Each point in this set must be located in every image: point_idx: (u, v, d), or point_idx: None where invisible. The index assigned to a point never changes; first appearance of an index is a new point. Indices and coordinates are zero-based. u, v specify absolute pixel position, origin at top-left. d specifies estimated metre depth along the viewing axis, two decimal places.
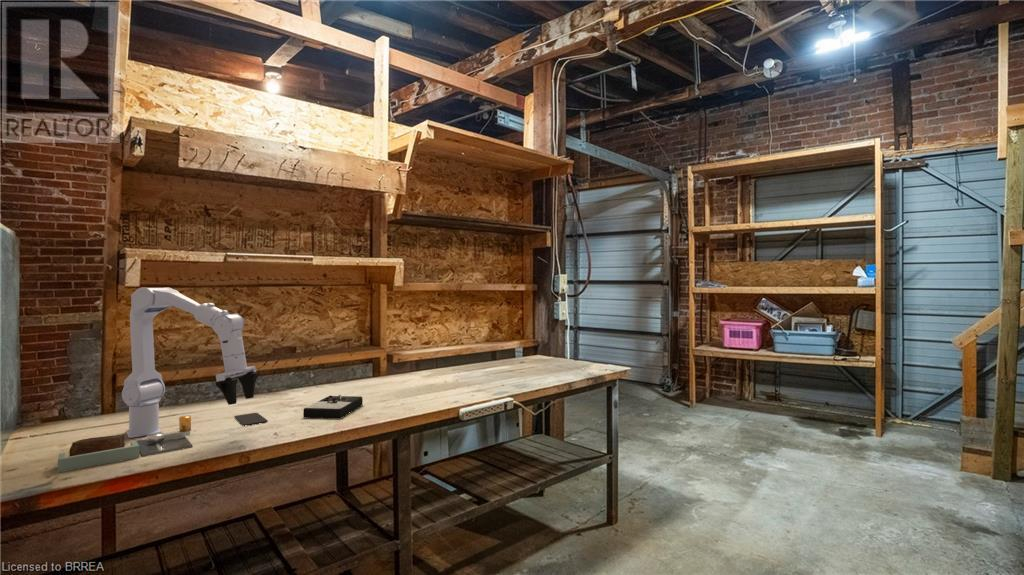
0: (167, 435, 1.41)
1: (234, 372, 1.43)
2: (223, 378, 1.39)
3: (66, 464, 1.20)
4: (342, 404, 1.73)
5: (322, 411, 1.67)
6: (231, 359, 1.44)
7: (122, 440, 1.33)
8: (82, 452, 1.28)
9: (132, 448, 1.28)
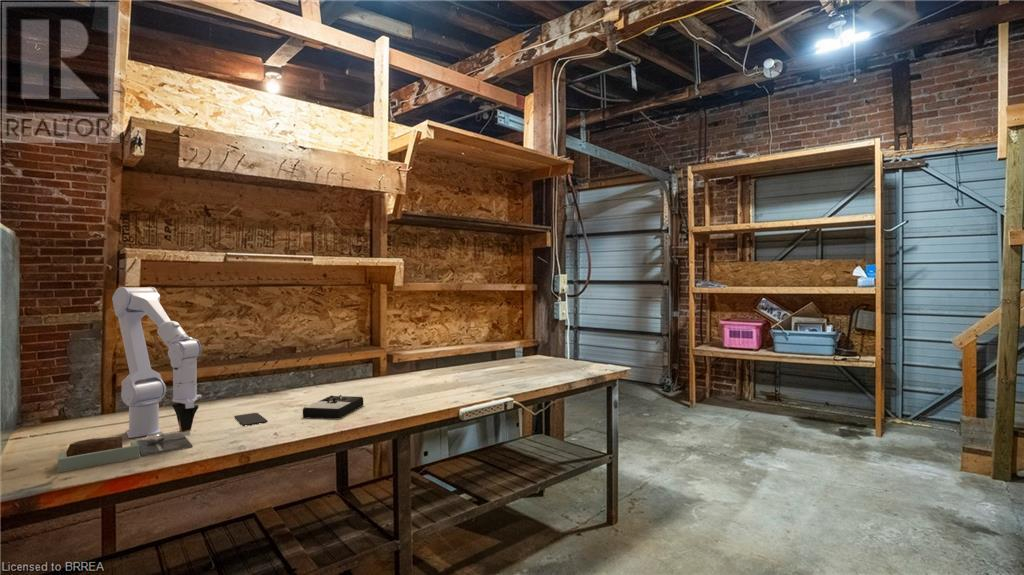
0: (167, 435, 1.41)
1: (195, 399, 1.43)
2: (193, 405, 1.40)
3: (66, 464, 1.20)
4: (341, 404, 1.72)
5: (321, 411, 1.67)
6: (191, 386, 1.43)
7: (120, 442, 1.31)
8: (80, 453, 1.27)
9: (132, 448, 1.28)
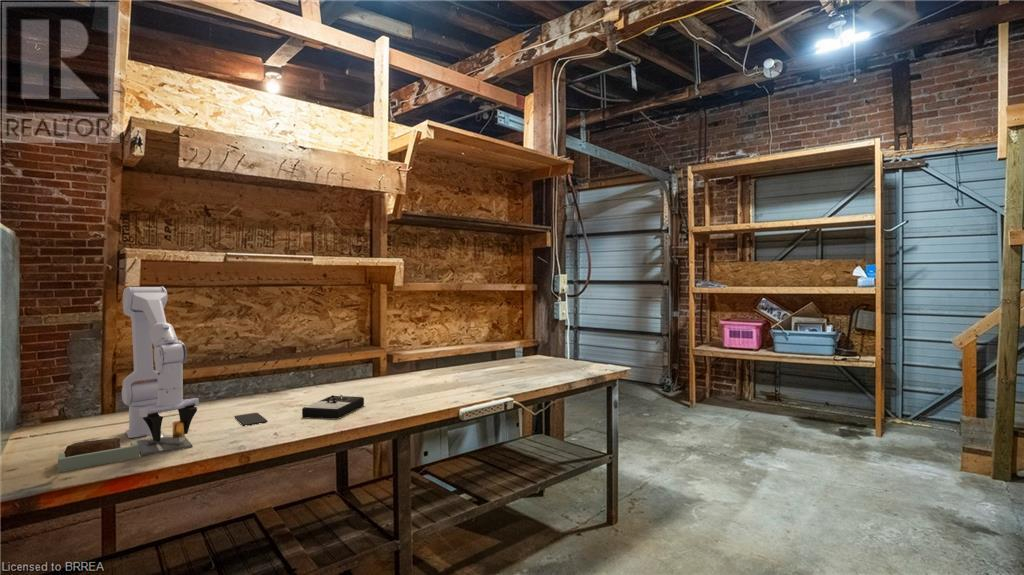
0: (161, 437, 1.39)
1: (161, 408, 1.33)
2: (144, 415, 1.30)
3: (66, 464, 1.20)
4: (341, 404, 1.72)
5: (320, 411, 1.67)
6: (162, 393, 1.34)
7: (118, 443, 1.30)
8: None
9: (132, 448, 1.28)
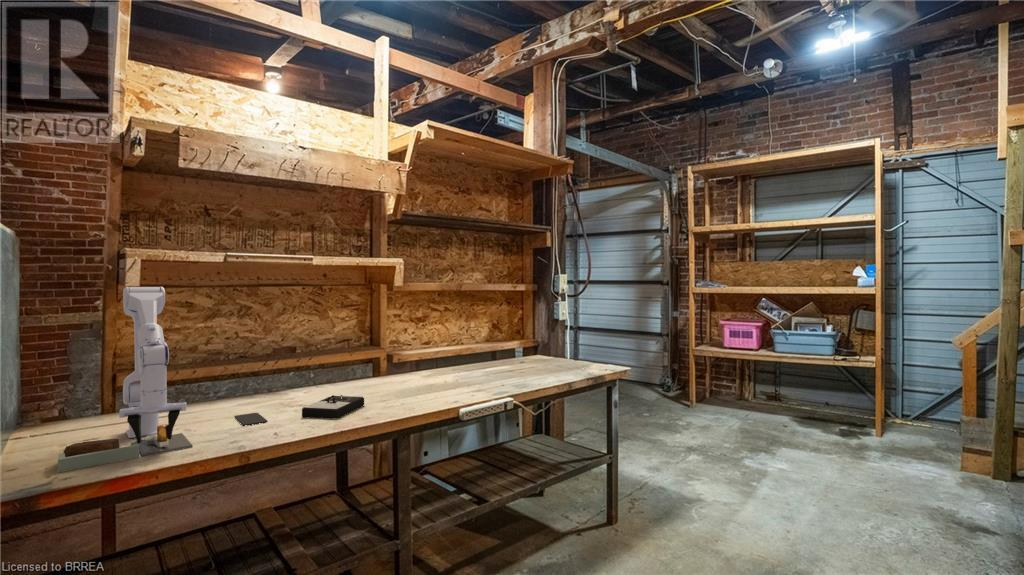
0: (154, 439, 1.37)
1: (136, 411, 1.31)
2: (120, 415, 1.30)
3: (66, 464, 1.20)
4: (340, 404, 1.72)
5: (320, 411, 1.67)
6: (141, 395, 1.32)
7: (117, 444, 1.29)
8: None
9: (132, 448, 1.28)
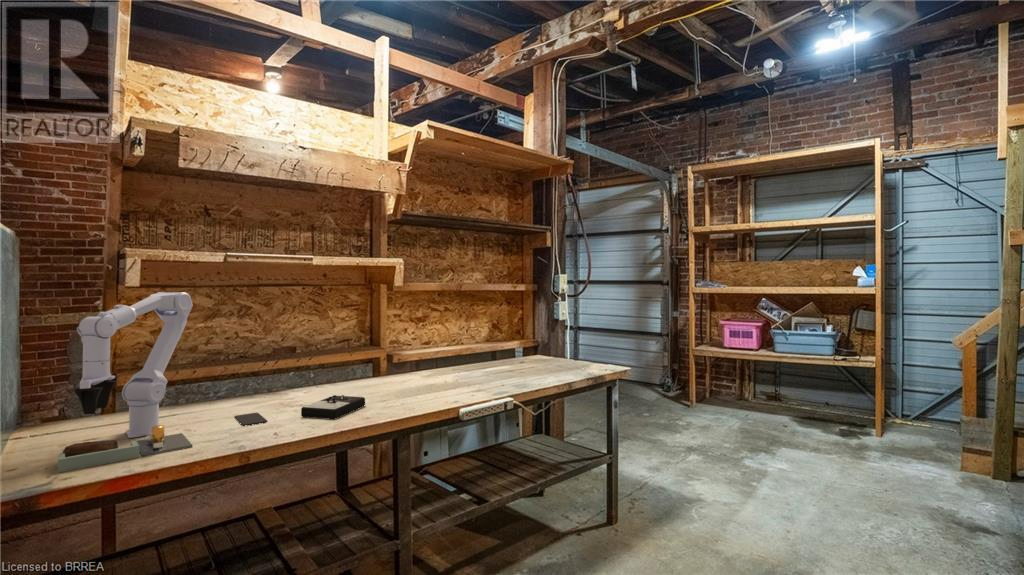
0: (152, 439, 1.37)
1: (99, 380, 1.33)
2: (89, 385, 1.30)
3: (66, 464, 1.20)
4: (340, 404, 1.72)
5: (318, 411, 1.67)
6: (97, 365, 1.34)
7: (114, 445, 1.28)
8: None
9: (132, 448, 1.28)
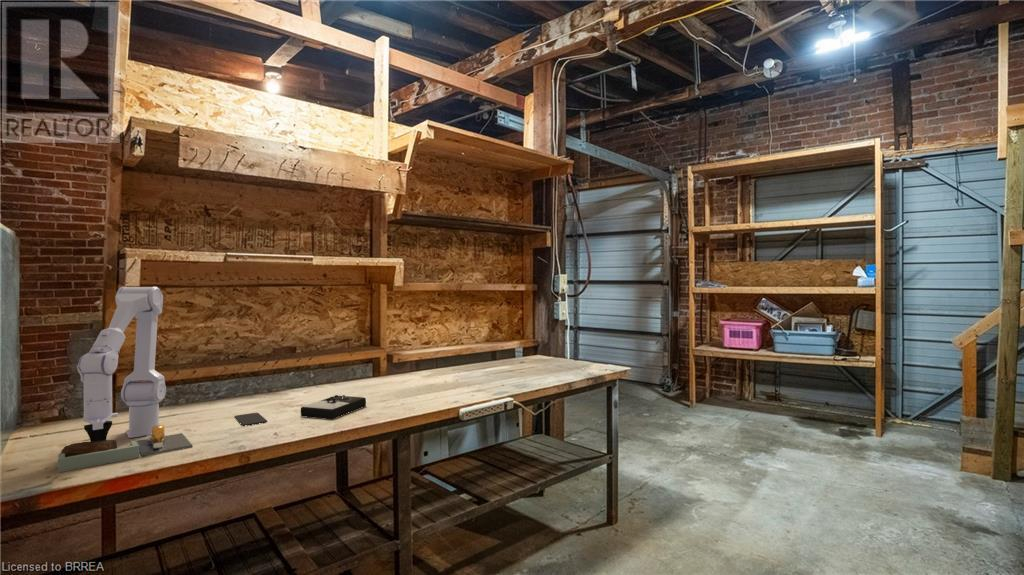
0: (152, 439, 1.37)
1: (108, 418, 1.28)
2: (102, 426, 1.25)
3: (66, 464, 1.20)
4: (339, 404, 1.72)
5: (317, 411, 1.67)
6: (103, 404, 1.28)
7: (113, 445, 1.28)
8: None
9: (132, 448, 1.28)
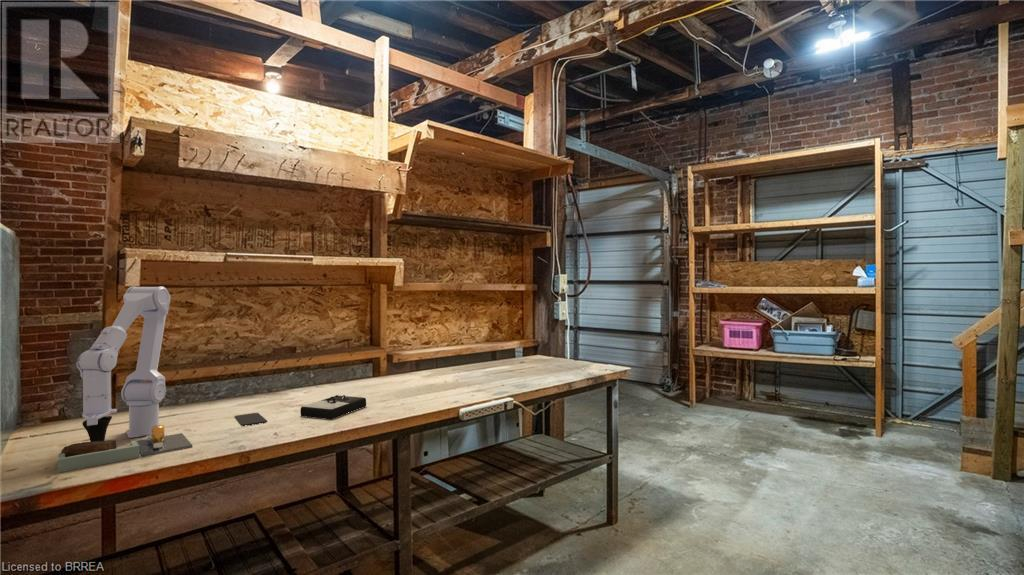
0: (152, 439, 1.37)
1: (104, 415, 1.31)
2: (97, 422, 1.27)
3: (66, 464, 1.20)
4: (338, 404, 1.72)
5: (316, 411, 1.67)
6: (100, 400, 1.31)
7: (113, 446, 1.28)
8: None
9: (132, 448, 1.28)
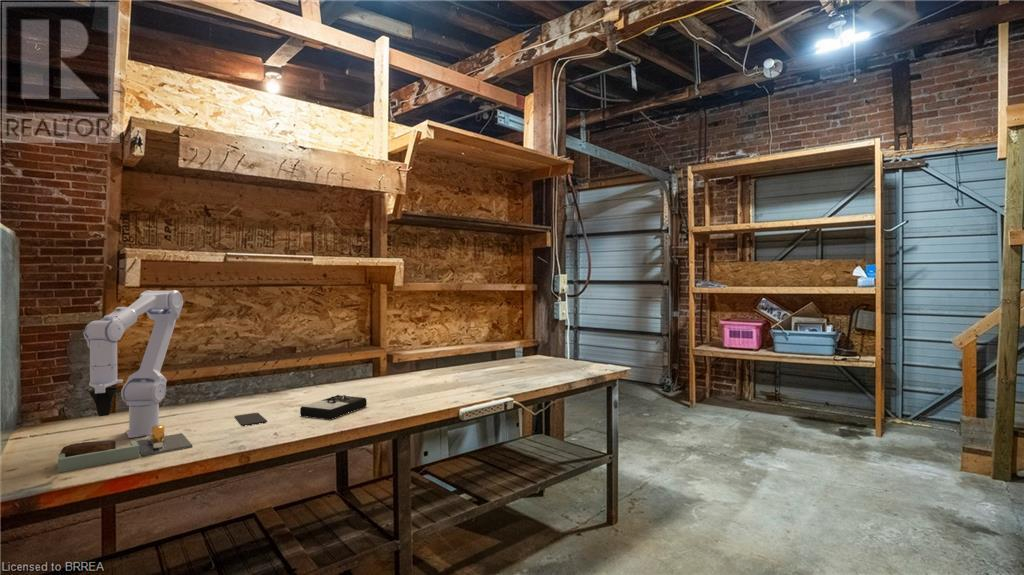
0: (152, 439, 1.37)
1: (111, 384, 1.33)
2: (104, 390, 1.29)
3: (66, 464, 1.20)
4: (338, 405, 1.72)
5: (316, 411, 1.67)
6: (107, 369, 1.33)
7: (112, 446, 1.28)
8: None
9: (132, 448, 1.28)
